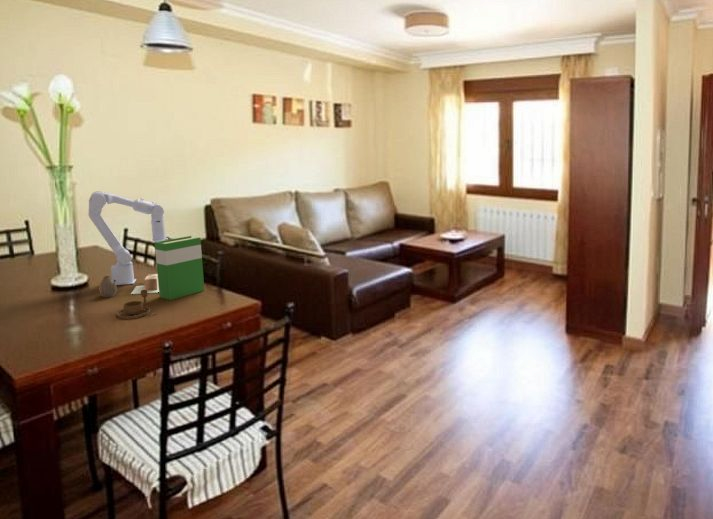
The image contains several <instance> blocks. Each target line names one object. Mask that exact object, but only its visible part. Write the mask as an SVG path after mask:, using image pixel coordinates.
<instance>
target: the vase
mask: <svg viewBox="0 0 713 519" xmlns="http://www.w3.org/2000/svg"><path fill="white" fill-rule="evenodd" d="M117 289H118V288H117V285H116V284H115V282H114V281H113V280H112V277H111V275H105V276H103V277H102V280H101V281H100V282H99V287H98V290H99V294H100V295H101V296H102V297H103V298H111V297H114V296H115V295H116V293H117Z"/></svg>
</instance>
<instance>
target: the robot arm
mask: <svg viewBox="0 0 713 519" xmlns="http://www.w3.org/2000/svg"><path fill="white" fill-rule="evenodd" d="M114 203H115V204H117V205H118V204H119V205H123V206H125V207H131V208H132V209H133V211H134V212H137V213H141V214H145V215H150V217H151V218H150V220H151V221H150V223H151V231H152V232H151V234H152V235H151V236H152V242H153V243H152V246H153V247H154V249H155V242H159V241H164V240H169V238H168V237H166V232H165V231H166V228H165V220H164V213H165V210H164V207H163V206H161V205H160V204H158V203H155V202H153V201H150V202H149V201H147V200H144V199H143V198H140V199H139V198H136V199H134V200H133V199H130V198H127V197H124V196H120V195H117V194H114V193H109V192H103V191H99V190H98V191H94V192H92V193H91V195H90V197H89V199H88V217H89V219H90V221H91V222H92V223H93V225H94V226H95V227H96V229H97V230H98V232H99V233H100V235H101V236H102V237H103V239H104V240H105V241H106V243H107V245H108V246H109V248H110V249H111V251H112V253H113V254H114V255H115V258H116V261H117V262H116V263H115V264H112V265H111V266H110V278H111V279H112V280H113V281H114V282H115V284H116V286H120V285H121V286H122V285H134V284H135V282H136V281H137V278H135V275H134V273H135V272H134V265H133V264H134V263H133V261H132V255H131V254H130V251H129V250H128V249H127V248H125V247H124V246H123V244H121V242H120V240H118V237H117V236H116V235H115V234H114V232H113V231H112V229H111V227H110V226H109V224H108V223H107V222H106V221H105V219H104V218H103V216H102V215H101V214H102V210H103V208H104V207H105V205H106V204H107V205H110V204H114Z"/></svg>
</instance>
